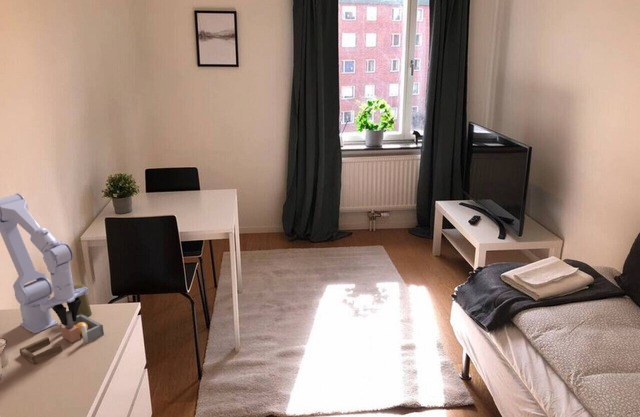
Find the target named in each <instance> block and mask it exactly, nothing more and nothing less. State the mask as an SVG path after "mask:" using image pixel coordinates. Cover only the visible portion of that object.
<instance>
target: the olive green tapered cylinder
mask: <svg viewBox="0 0 640 417" xmlns="http://www.w3.org/2000/svg"><path fill="white" fill-rule="evenodd" d="M73 287H74V290H75V289H79V288H82V287H86V288H87V286H86V285H85V284H82V283H80V284H79V283H77V284H75V285H73ZM79 299H81V304H80V306H79V308H78V312H77V315H80V314H83V315H85V316H86V317H88V318H90V317H91V316H92V315H93V312H92V309H91V306H90V302H89V299H88V296H87V295H85V294H84V295H82V296H79Z"/></svg>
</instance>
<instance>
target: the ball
mask: <svg viewBox="0 0 640 417" xmlns="http://www.w3.org/2000/svg"><path fill="white" fill-rule="evenodd" d="M83 324H85V325H86V329H87V330H89V329H88V325H87V324H86V323H84V322H79V323H78V324H76V326H77V327H79V333H80V336H82V329H81V325H83Z"/></svg>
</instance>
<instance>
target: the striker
mask: <svg viewBox="0 0 640 417" xmlns="http://www.w3.org/2000/svg"><path fill="white" fill-rule="evenodd" d="M66 318H67V325H66V326H64V325H63V324H62V326H60V329H61V334H62V338H63V339H64V340H66V341H68V342H69V343H74V342H76V341H79V340H80V339H81V335H80V333H79V327H77V326H75V325H74V324H73V317H72V312H71V311H69V310H66Z"/></svg>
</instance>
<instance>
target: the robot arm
mask: <svg viewBox="0 0 640 417" xmlns="http://www.w3.org/2000/svg"><path fill="white" fill-rule="evenodd" d="M27 201H28V200H26V198H25V197H24V195H22V194H21V193H18V192H17V193H14V194H11V195H9V196H3V197H1V198H0V235H1V238H2V240H3V242H4V245H5V247H6V250H7V252H8V254H9V256H10V258H11V262H12V263H13V266H14V268H15V270H16V272H17V275H18V277H17V278H16V280H15V281H14V282H13V285H12V287H13V288H12V289H13V291H14V296H15V299H16V301H17V302H18V304H20V306H19V310H20V313H21V314H20V315H21V320H22V322H20V326H21V327H23V328H24V329H26V330H28V331H29V332H32V334H37V333H39V332H43V331H45V330H46V329H49V328H51V327H53V326H56V325H58V324H59V323H58V321H56V320H55V319H54V318H52V313H51V312H52V311H51V309H52V310H53V311H54V312H55V314H56V316H57V317H58V319H59V320H60V323H61V325H62V326H63V325H64V326H66V325H67V318H66V311H67V309H68V311H71V312H72V317H73V321H74V322H75V321H76V318H77V312H78V308H79V306H80V304H81V299H79V296H82V295H84V294H85V295H86V296H87V295H89V294H90V293H89V288H88V287H87V286H86V287H82V288H79V289H75V290H74V287H73V286H74V282H73V276H72V268H71V261H72V260H73V258H74V252H73V250H72V248H71V246H70V245H69V244H68V243H66V242H63V241H59V240H58V239H57V238H56V237H55V236H54V234H53V233H51V231H50V230H49V229H48V228H45V227H41V226H40V224H39V223H38V222H37V221H36V219H35V218H34V216H33V215H32V214H31V212H30V211H29V205H28V202H27ZM18 225H19V226H20V227H22V229H24V231H26V232H27V233H28V235H30V239H29V240H30V242H31V243H32V244H33V246H34V247H36V248H37V250H38V251H39V252H40V253H41V254H42V259H43V260H42V261H43V262H44V264H45V265H46V269H47V271H48V273H50V274H49V275H50V279H49V278H48V276H47V274H46V273H45V272H42V271H39V270H36V267H35V266H34V263H33V260H32V258H31V256H30V254H29V252H28V251H29V250H28V249H27V247H26V244H25V242H24V240H23V239H24V238H22V235H21V233H20V230H19V228H18ZM52 294H53V297H51V295H52ZM64 304H66V305H67V307H66V306H64Z"/></svg>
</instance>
